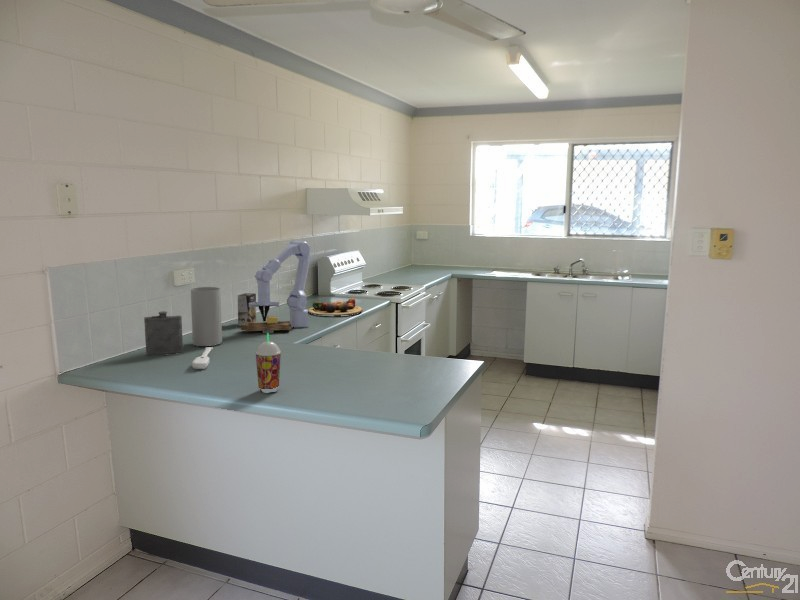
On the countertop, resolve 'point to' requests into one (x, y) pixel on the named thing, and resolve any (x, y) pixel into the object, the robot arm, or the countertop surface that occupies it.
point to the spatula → (202, 359)
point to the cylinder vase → (206, 316)
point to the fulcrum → (268, 331)
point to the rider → (271, 319)
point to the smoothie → (268, 364)
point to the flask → (163, 334)
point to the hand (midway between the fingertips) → (264, 321)
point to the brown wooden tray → (266, 326)
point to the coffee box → (246, 308)
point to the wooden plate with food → (335, 308)
